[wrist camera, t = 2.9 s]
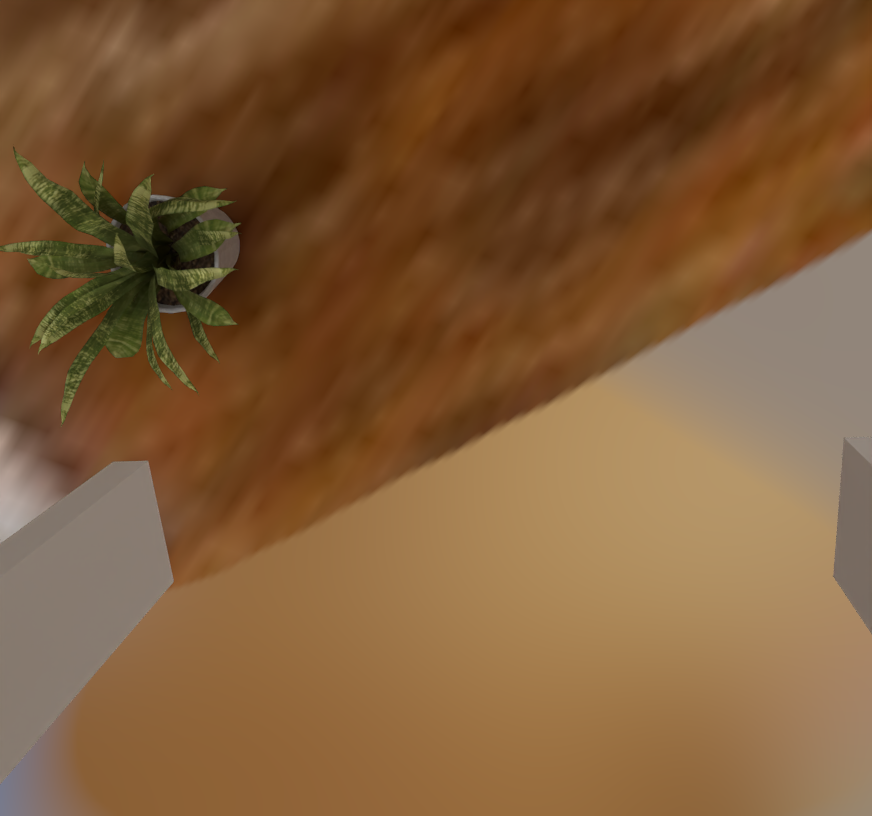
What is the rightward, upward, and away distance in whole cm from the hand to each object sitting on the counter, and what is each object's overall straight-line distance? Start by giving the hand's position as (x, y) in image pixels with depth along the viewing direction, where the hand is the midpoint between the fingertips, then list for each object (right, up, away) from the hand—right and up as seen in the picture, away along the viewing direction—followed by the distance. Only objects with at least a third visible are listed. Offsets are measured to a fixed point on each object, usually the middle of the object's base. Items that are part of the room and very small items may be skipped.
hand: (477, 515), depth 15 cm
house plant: (-16, +12, +39) cm, 44 cm away
